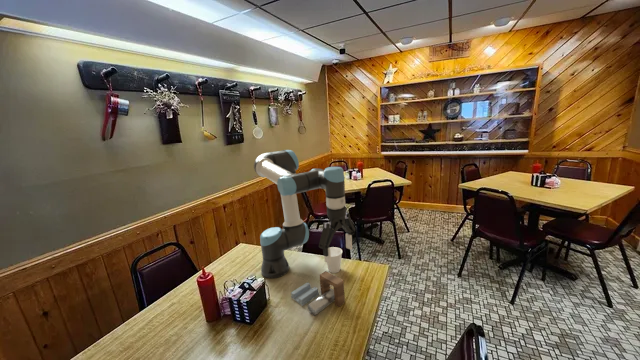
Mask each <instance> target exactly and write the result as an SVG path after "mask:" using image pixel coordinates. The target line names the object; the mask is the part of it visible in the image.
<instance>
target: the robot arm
mask: <svg viewBox="0 0 640 360" xmlns="http://www.w3.org/2000/svg"><path fill="white" fill-rule="evenodd" d="M299 163H300V162H299V159H298V157H297V154H296V152H295V151H293V149H292V150H291V149H283V150H277V151H270V152H263V153H261V154H260V155H258V156H257V157H256V158H255V160H254V161H253V170H254V173H256V174H257V175H258V176H259V177H261V178H266V179H267V180H269V181H270V182H272V183H274V184H275V185H276V187H277V190H278V192H279V194H280V198H281V199H280V200H281V205H282V211H283V217H284V222H283V223H282V228H281V227H279V226H275V227H270V228H269V227H268V228H267V229H265V230H263V231H262V233H260V236H259V239H260V240H259V241H260V242H259V243H260V247H261V248H260V249H261V255H262V263H261V268H260V271H261V272H260V273H261V275H262V276H263V277H264V278H265V279H266V278H267V279H277V278H280V277H282V276H285V275H286V274H288V272H289V270H290V266H289V265H290V264H289V262H288V259H287V258H286V256H285V251H287V250H290V249H292V248H295V247H298V246H302V245H304V244H306V243H307V242H308V241H309V236H310V231H309V227H308V225H307V223H306V222H304V220H303V219H302V218H301V217H300V211H299V209H300V208H299V204H298V203H299V202H298V196H297V194H301V193H305V192H309V191H312V190H318V189H322V190H325V202H326V203H325V204H326V214H327V217H328V222H326V221H325V222H323V223H322V231H321V235H320V239H319V243H318V248H319V249H320V250H321V249H322V252H323V253H322V254H323V256H324V262H325V263H326V264H327V263H329V264H331V253H330V245H331V242H332V240H333V237H334V235H335V234H336V233H337V231H338V230H339V229H342V230H344V232H346V233H345V248H346V249H348V250H353V236H354V235H355V232H356V228H355V225H354V223H353V222H352V221H353V220H352V219H351V214H350V213H348V212H347V207H346V188H345V185H346V184H345V181H346V180H345V179H346V177H345V173H344V172H345V171H344V169H343V168H342V167H341V166H329V167H326V168H324V169H323V168H312V169H311V170H309V171H306V172H299V173H297V170H298V169H299V165H300V164H299Z"/></svg>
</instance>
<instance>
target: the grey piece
mask: <svg viewBox="0 0 640 360" xmlns="http://www.w3.org/2000/svg"><path fill="white" fill-rule="evenodd" d="M333 302H335V297H334V288H330V289H329V290H328V291H326V292H325V293H324V294H322V295H321V294H320V295H318V296H317V297H316V298H314V299H313V301H312V300H311V302H310V303H307V310H308V312H309V314H311V315H312V316H313V317H314V316H316V315H318V314H319V313H320V312H322V311H323V310H325V309H326V308H327V307H328V306H330V304H332V303H333Z"/></svg>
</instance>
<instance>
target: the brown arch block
mask: <svg viewBox="0 0 640 360" xmlns="http://www.w3.org/2000/svg"><path fill="white" fill-rule="evenodd" d="M344 282H345V281H344V280H343V279H342V278H340V277H338V276H336V275H334V273H333V274H332V273H331V272H330V271H327V270H325V271H324V272H322V273H320V274H319V283H320V284H319V287H320V296H321V295H322V294H324V293H325V292H326V291H328V290H329V289H331V286H332V287H333V290H334V297H335V301H334V305H335V306H336V307H338V308H340V307H341V306H343V305H344V304H345V303H346V299H345V284H344Z"/></svg>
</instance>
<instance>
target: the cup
mask: <svg viewBox="0 0 640 360" xmlns="http://www.w3.org/2000/svg"><path fill="white" fill-rule="evenodd" d="M329 248H330V253H331V264H329V263H327V262H326V265H327V268H328V272H329V273H331V274H332V273H333V274H336V273H339V272H340V270H341V264H342V255H343V249H342V248H340V247H336V246H335V247H334V246H331V247H330V246H329Z"/></svg>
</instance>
